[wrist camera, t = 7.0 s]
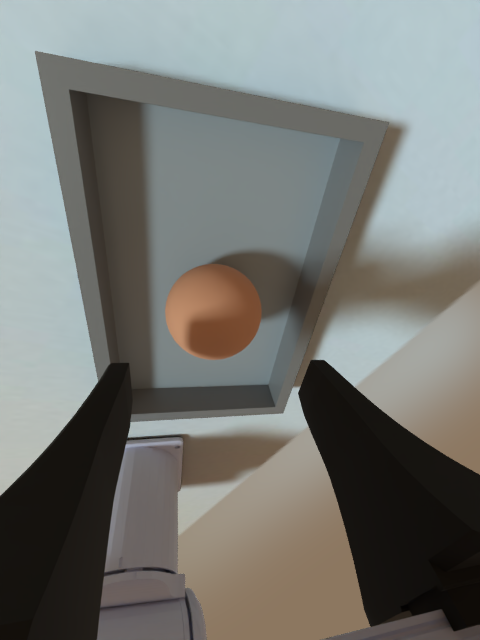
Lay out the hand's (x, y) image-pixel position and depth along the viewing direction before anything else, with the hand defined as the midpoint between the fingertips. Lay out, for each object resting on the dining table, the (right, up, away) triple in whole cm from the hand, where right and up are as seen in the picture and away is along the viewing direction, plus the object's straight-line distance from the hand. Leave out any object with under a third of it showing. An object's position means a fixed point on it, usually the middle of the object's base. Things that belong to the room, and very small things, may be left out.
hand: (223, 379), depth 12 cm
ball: (-1, +3, +4) cm, 5 cm away
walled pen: (-1, +4, +6) cm, 7 cm away
